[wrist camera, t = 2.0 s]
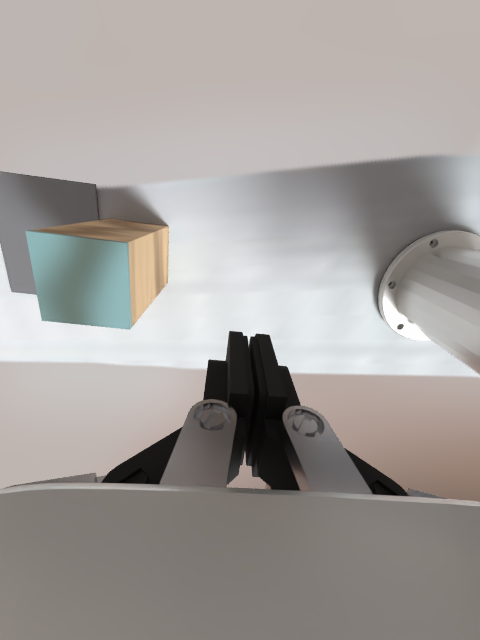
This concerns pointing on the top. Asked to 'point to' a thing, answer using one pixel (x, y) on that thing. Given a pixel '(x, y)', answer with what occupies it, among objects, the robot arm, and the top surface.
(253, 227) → the top surface
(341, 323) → the top surface
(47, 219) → the mat
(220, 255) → the top surface
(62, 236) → the oak block
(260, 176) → the top surface
